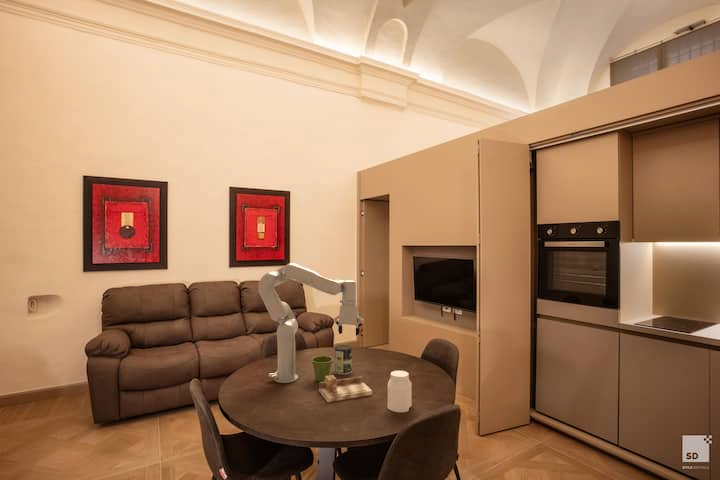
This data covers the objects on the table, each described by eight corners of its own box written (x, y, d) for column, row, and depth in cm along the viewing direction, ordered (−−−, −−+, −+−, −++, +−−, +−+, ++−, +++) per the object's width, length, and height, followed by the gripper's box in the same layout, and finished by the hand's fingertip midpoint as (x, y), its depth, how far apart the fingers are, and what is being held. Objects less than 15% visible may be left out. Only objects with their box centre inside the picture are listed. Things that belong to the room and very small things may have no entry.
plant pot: (307, 381, 199) (307, 360, 199) (319, 374, 209) (319, 354, 209) (325, 385, 193) (325, 363, 193) (337, 378, 204) (337, 357, 204)
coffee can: (352, 368, 219) (352, 344, 219) (351, 374, 209) (351, 349, 209) (335, 368, 219) (335, 344, 220) (333, 374, 209) (333, 349, 209)
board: (327, 402, 172) (327, 392, 172) (319, 391, 185) (319, 382, 185) (372, 394, 181) (372, 385, 181) (361, 384, 194) (361, 376, 194)
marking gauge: (331, 396, 174) (331, 383, 174) (325, 388, 184) (325, 375, 184) (339, 395, 175) (339, 382, 176) (332, 386, 186) (332, 374, 186)
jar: (393, 400, 174) (393, 368, 175) (413, 403, 171) (412, 370, 171) (385, 410, 164) (385, 376, 164) (406, 413, 160) (406, 379, 160)
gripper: (331, 303, 201) (331, 334, 201) (361, 304, 196) (361, 337, 195) (336, 301, 208) (336, 331, 208) (366, 302, 203) (366, 334, 202)
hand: (348, 334), depth 202 cm, fingers open, 9 cm apart
